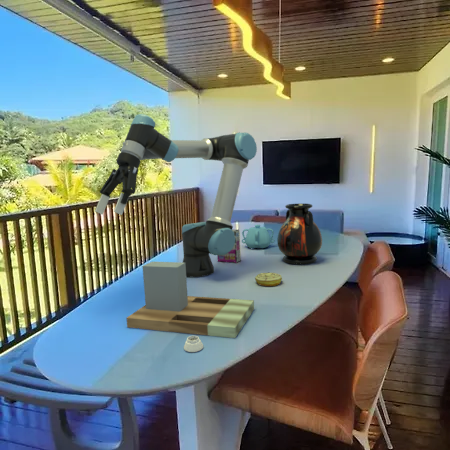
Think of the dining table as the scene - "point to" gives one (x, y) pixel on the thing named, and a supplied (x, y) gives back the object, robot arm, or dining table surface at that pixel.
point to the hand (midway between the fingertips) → (107, 213)
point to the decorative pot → (257, 237)
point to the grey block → (165, 286)
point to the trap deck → (197, 317)
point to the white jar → (193, 344)
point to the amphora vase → (299, 235)
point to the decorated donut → (268, 279)
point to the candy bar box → (232, 251)
